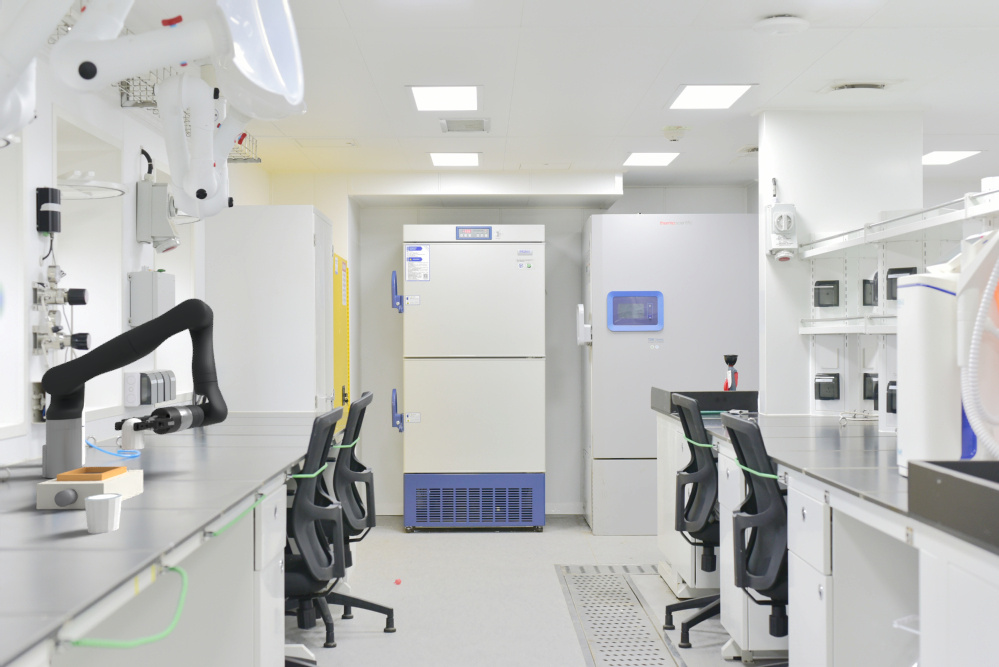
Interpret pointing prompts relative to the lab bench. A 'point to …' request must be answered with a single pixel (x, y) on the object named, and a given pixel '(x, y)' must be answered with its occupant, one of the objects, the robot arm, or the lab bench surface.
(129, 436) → the capsule
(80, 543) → the lab bench surface
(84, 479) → the plate
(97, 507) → the white tapered cup
